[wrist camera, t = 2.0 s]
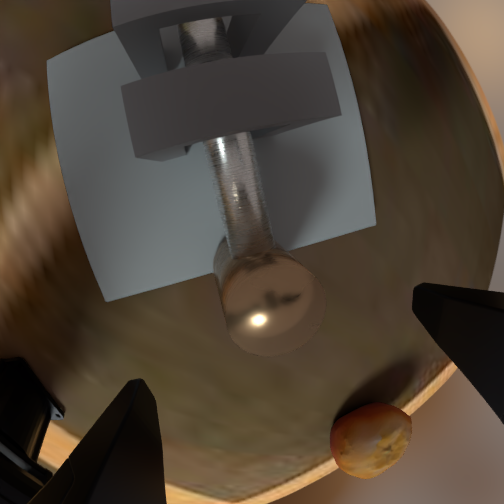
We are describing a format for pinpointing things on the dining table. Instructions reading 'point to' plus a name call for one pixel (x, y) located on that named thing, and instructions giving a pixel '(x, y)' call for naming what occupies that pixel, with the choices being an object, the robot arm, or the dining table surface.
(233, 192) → the metal knob rod
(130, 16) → the barrel bolt latch
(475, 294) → the robot arm
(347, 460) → the fruit
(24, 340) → the dining table surface
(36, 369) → the dining table surface
